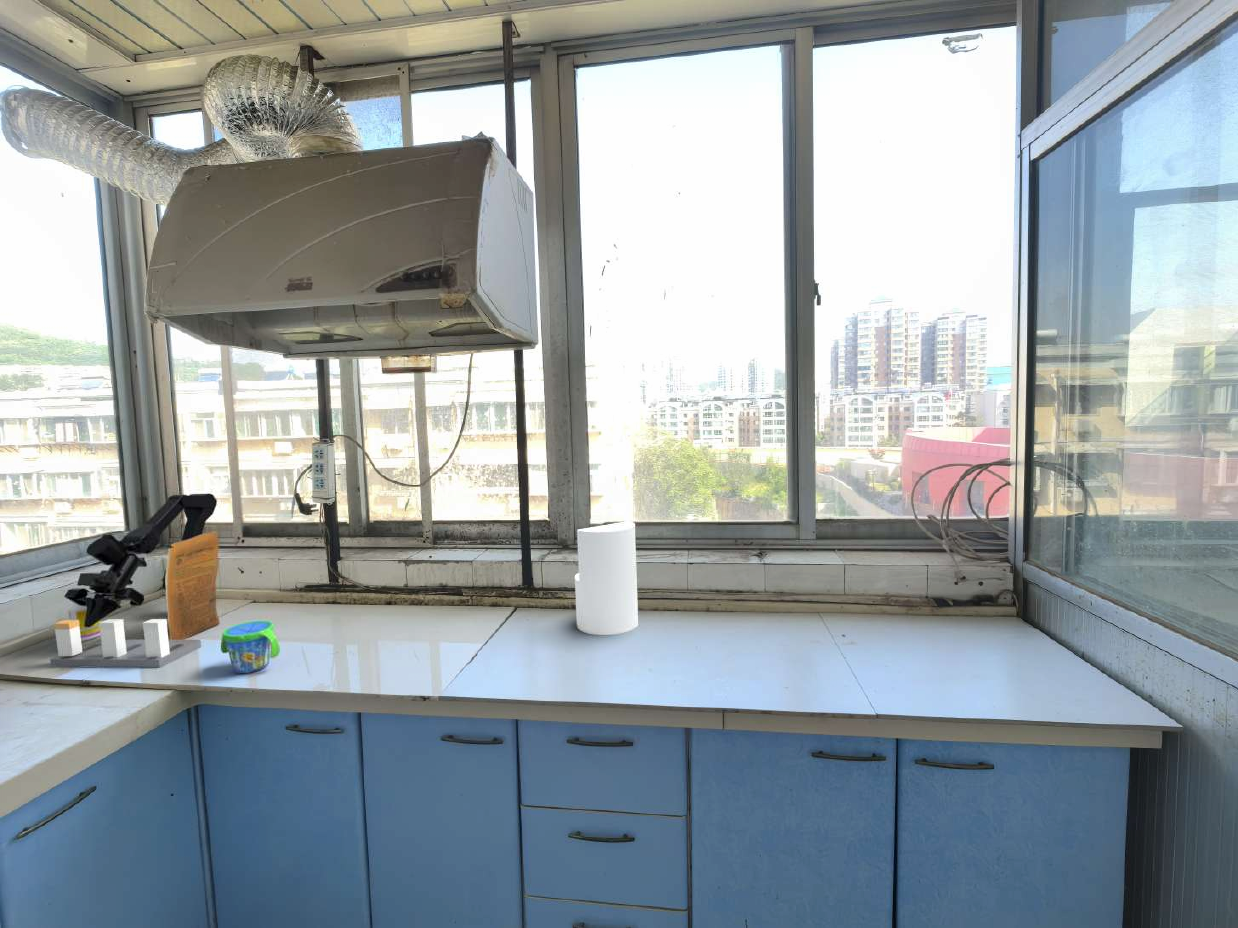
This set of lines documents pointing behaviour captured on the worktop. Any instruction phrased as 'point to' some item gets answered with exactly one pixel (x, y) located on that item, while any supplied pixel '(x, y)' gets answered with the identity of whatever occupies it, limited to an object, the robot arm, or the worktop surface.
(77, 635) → the block
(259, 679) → the worktop surface
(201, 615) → the pancake mix bag
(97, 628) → the supplement bottle
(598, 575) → the cylinder
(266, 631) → the snack cup
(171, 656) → the grey plate with uprights
